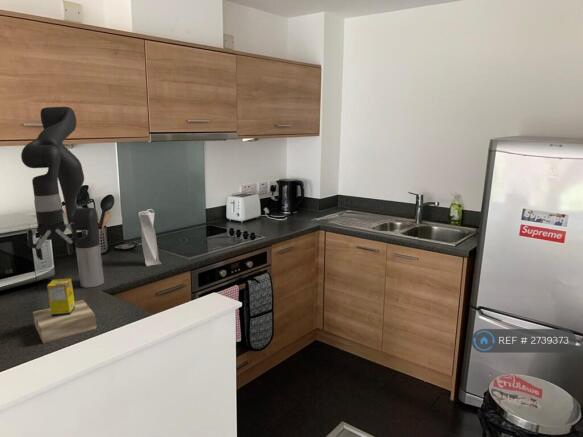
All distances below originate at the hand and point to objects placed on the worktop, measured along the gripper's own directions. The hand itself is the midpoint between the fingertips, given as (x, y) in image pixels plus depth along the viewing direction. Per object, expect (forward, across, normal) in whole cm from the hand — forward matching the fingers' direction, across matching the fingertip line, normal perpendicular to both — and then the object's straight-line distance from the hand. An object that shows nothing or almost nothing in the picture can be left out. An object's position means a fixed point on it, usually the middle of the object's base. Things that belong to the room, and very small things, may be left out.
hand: (55, 256), depth 143 cm
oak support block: (+25, 0, 0) cm, 25 cm away
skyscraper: (+26, -48, -47) cm, 72 cm away
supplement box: (+20, 0, -1) cm, 20 cm away
